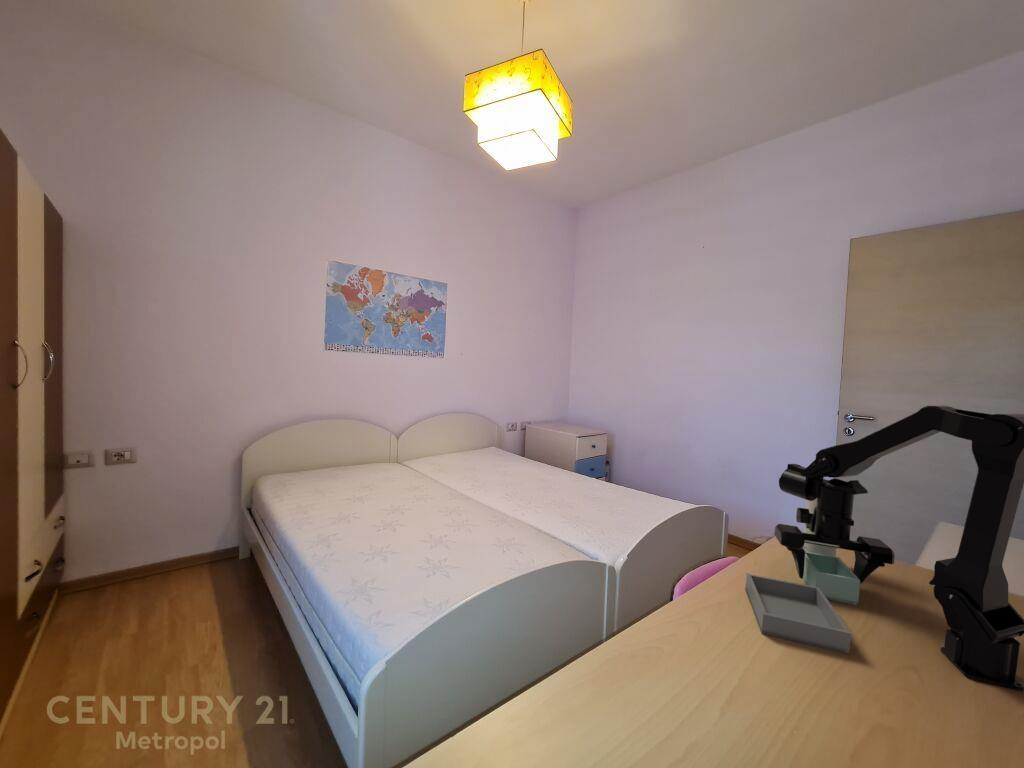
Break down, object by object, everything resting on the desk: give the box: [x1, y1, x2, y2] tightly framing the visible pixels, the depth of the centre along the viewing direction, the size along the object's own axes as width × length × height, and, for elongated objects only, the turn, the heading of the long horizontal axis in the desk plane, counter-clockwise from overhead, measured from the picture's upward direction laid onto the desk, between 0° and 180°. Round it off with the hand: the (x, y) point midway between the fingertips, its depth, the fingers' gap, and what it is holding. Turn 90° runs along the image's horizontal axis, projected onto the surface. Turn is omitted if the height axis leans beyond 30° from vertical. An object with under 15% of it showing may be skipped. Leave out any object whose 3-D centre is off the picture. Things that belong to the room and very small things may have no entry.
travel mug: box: [802, 498, 837, 557], centre depth 94 cm, size 6×7×20 cm
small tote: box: [802, 551, 861, 606], centre depth 84 cm, size 10×7×5 cm
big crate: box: [744, 573, 852, 655], centre depth 74 cm, size 12×14×3 cm
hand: (826, 582), depth 84 cm, fingers open, 9 cm apart
